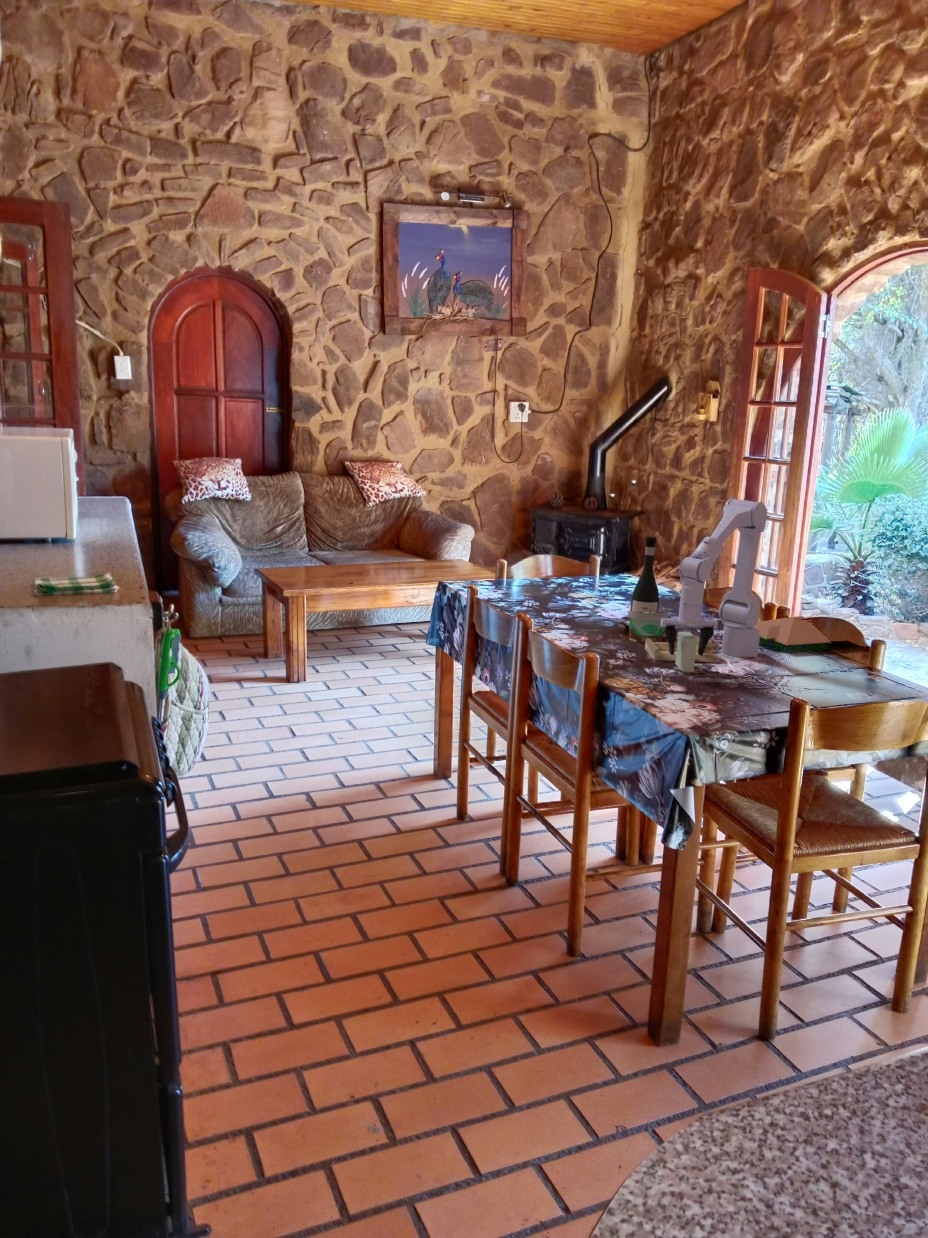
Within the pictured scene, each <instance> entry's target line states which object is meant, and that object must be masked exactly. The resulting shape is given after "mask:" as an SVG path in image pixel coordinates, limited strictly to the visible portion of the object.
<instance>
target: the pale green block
mask: <svg viewBox="0 0 928 1238" xmlns="http://www.w3.org/2000/svg"><path fill="white" fill-rule="evenodd" d="M677 633H678V634H677V635H678V636H677V642H676V643H677V652H676V661H674V662H675V665H676V666H677V668H678V669H679V670H680V671H681V672H685V673H686V672H687V673H688V672H689V673H691V672H692V673H693V672H695V662H696V661H695V654H696V645H697V638H696V637H697V636H695V635H694V634H692V633H691V632H690V631H678V632H677Z"/></svg>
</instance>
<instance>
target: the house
mask: <svg viewBox="0 0 928 1238" xmlns="http://www.w3.org/2000/svg"><path fill="white" fill-rule="evenodd" d="M798 619H799V620H798ZM801 619H808V618H807V617H805V616H803V615H802V616H801V615H799V616H798V615H797V616H790V617H783V618H782V617H781V618H777V619H769V620H762V621H761V620H760V621H758V622H757V624H756V625H755V626H756V627H757V628H758V630H759V646H762V644H765V645H764V648H767V649H768V648H770V645H772V648H773V647H774V649H777V648H781V652H782V651H783V653H785V652H787V650H788V652H789V651H790V649H788V647H789V646H790V645H791V646H790V648H792V650H795V651H794V652H796V651H798V650H799V651H800V650H801V652H803V651H806V649H804V646H806V645H807V646H806V648H808V650H810V651H813V650H814V651H815V649H814V646H815V647H817V649H819V650H822V648H823V649H824V648H827V647H826V646H827V645H826V643H828V644H829V643H831V642H830V641H829V640H828V638H827V637H826V636H824V635H823V634H822V633H821V632H820V631H819V630H818V629H817V628H816V627H815V626H814V625H812V624H813V623H811V622H807V621H813V620H812V619H810V620H801ZM866 639H867V640H870V638H868V637H866ZM770 640H771V643H770ZM867 640H866V641H867ZM782 644H783V645H782ZM820 644H824V645H820ZM784 645H785V647H784V648H783V646H784ZM808 645H809V646H808ZM811 645H813V646H811ZM817 645H818V646H817ZM819 645H820V646H819ZM810 646H811V647H810ZM810 648H811V649H810ZM796 649H797V650H796ZM812 649H813V650H812ZM799 651H798V652H799ZM788 652H787V653H788Z"/></svg>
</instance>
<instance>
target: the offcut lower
mask: <svg viewBox="0 0 928 1238" xmlns="http://www.w3.org/2000/svg"><path fill="white" fill-rule="evenodd" d="M696 653H698V648H697V647H696ZM703 654H714V650H713V649H712V650H704V653H703Z"/></svg>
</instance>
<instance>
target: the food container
mask: <svg viewBox="0 0 928 1238" xmlns="http://www.w3.org/2000/svg"><path fill="white" fill-rule="evenodd" d="M626 616H627V617H628V618H629V619H628V621H629V622H628V624H629V626H628V637H629V638H628V639H629V641H632V642H634V643H638V644H644V645H645V642H646V638H649V639H650V640H651V641H652V642H663V641H662V640H663V636H664V632H665V630H664V627H662V626H661V618H669V613H668V609H667V608H665V609H664V611H658V612H653V611H643V612H636V611H632V610H631V608H630V609H629V610H628V611H627V615H626Z"/></svg>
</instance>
